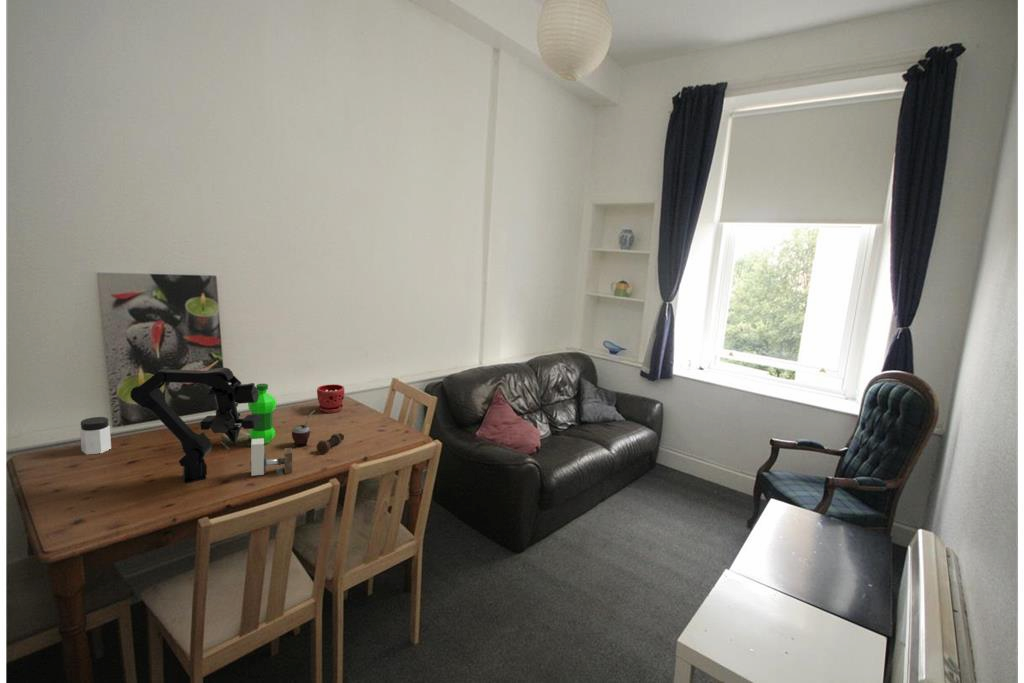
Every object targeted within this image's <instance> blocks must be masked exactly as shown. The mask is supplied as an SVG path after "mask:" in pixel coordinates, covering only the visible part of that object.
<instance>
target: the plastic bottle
mask: <svg viewBox="0 0 1024 683" xmlns="http://www.w3.org/2000/svg"><path fill="white" fill-rule="evenodd" d="M255 387H256V388H257V390H258V401H257V402H256V403H247V406H248V410H249V411H250V412H251V415H258V416H259V417H260V422H259V423H258V424H257V425H256V426H255V428H253V429H249V432H248V433H249V434H250V436H249V437H251V438H250V439H251V440H252V439H261V438H264V445H266V444H269V443H270V441H271V440H273V439H274V438H275V436H276V430H275V428H274V422H273V421H274V420H273V419H274V417H273V416H274V414H273V413H274V410H276V408H277V401H276V399H275V397H273V396H272V395H271V394H269V393H268V391H267V390H269V384H268V383H258V384H256V385H255Z"/></svg>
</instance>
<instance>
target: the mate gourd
mask: <svg viewBox="0 0 1024 683" xmlns="http://www.w3.org/2000/svg"><path fill="white" fill-rule="evenodd" d="M315 411H316V410H315V409H314V410H313V411H312V412H310V413H309V414H308V416H307V420H306V421H305V423H304V424H298V425H296V426H294V427H293V428H292V431H291V437H292V440H293V444H294V445H295V446H294V448H296V447H297V448H299V447H308V441H309V438H310V435H311V433H310V432H311V431H310V428H309V427H308V426H307V424H308V422H309V419H310V417H311V415H312V414H313V413H315ZM301 445H302V446H301Z"/></svg>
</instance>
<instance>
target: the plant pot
mask: <svg viewBox="0 0 1024 683" xmlns="http://www.w3.org/2000/svg"><path fill="white" fill-rule="evenodd" d="M316 393H317V395H316V396H317V401H318V403H319V407H318V408H319V410H320V411H321V412H324V413H337V412H340V411H342V409H343V408H344V405H343V402H344V398H345V387H344V386H343V385H341V384H325V385H320V386H318V387H317V389H316Z"/></svg>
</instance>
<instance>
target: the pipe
mask: <svg viewBox="0 0 1024 683" xmlns="http://www.w3.org/2000/svg"><path fill="white" fill-rule="evenodd" d="M284 464H285V458H284V457H283V458H281V457H278V458H272V459H271V458H270V459H269V458H267V459H266V467H267V466H277V465H278V466H281V465H284ZM249 467H250V468H251V460H250V461H249Z"/></svg>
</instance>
